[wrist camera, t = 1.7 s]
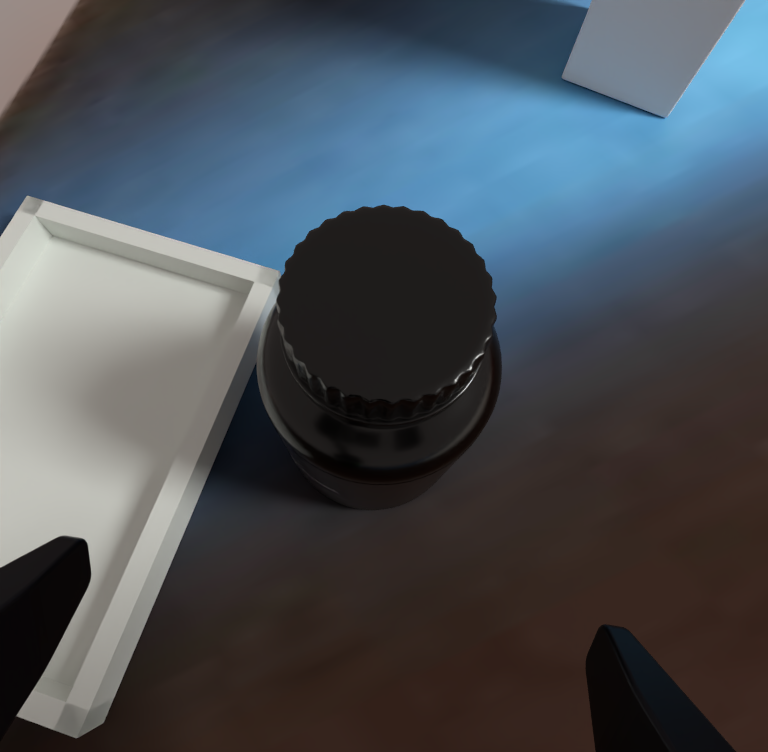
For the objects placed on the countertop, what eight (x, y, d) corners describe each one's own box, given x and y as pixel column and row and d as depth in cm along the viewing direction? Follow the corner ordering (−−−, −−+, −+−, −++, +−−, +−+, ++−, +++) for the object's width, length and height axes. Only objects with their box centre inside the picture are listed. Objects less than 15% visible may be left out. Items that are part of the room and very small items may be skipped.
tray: (103, 723, 19) (76, 738, 17) (-193, 614, 20) (-247, 618, 18) (285, 292, 25) (279, 271, 23) (50, 221, 26) (27, 195, 24)
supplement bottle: (270, 493, 22) (173, 410, 11) (313, 339, 24) (269, 136, 13) (440, 530, 22) (523, 485, 11) (467, 371, 24) (559, 193, 13)
